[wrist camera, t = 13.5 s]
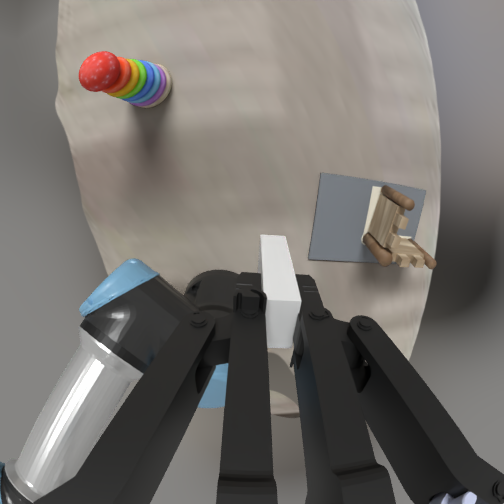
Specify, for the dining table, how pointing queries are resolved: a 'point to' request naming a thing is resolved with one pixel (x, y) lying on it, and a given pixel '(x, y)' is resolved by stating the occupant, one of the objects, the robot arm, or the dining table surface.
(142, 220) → the dining table surface
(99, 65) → the stacking toy
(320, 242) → the card
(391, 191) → the hinged fence panel
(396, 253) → the fixed fence section
